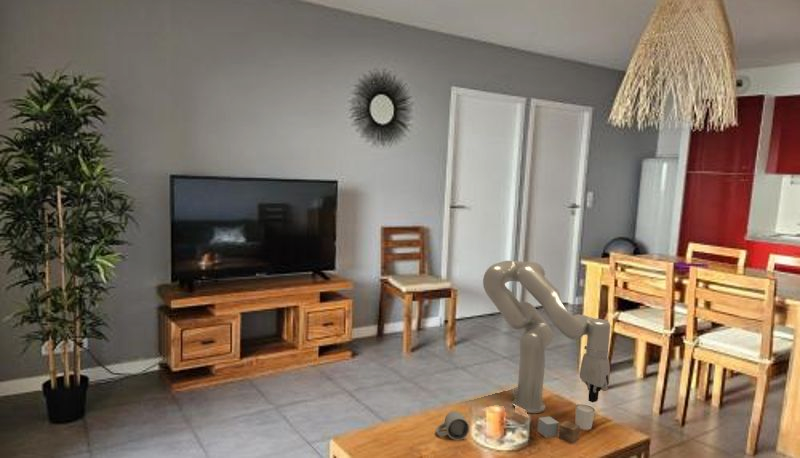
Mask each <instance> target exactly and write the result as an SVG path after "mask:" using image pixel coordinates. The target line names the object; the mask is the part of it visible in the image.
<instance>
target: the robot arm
mask: <svg viewBox="0 0 800 458" xmlns="http://www.w3.org/2000/svg"><path fill="white" fill-rule="evenodd" d="M545 275H546V271H545V269H544V267H543V266H542V265H541V264H540V263H538V262H536V261H535V262H534V261H516V260H503V261H500V262H497V263H494V264H492V265H491V266H489V267H488V268H487V269H486V271H485V273H484V275H483V279H482V286H483V290H484V291H485V294H486V295H487V296H488V298H489V299H490V300H491V302H492V303H493V304H494V307H496V309H497V310H498V311H499V313H500V314H501V316H502V317H503V319H504V320H505V321H506V323H507V324H508V325H509V327H510V328H512V329H514V330H522V329H523V330H524V332H523V333H522V335H521V336H520V339H519V369H518V381H517V388H516V387H515V388H513V390H512V391H511V392H510V393H511V395H512V396H514V399H513V400H512V403H513V404H515V405H517V406H519V407H521V408H523V409H525V410H526V411H527V412H528V414H541V413H543V412H544V411H545V410H546V405H545V403H543V402H542V401H543V390H544V378H545V363H546V362H545V361H546V360H545V359H546V355H545V350H546V348H548V347H549V346H550V345H551V344H552V342H553V340H554V334H553V330H552V328H551V327H550V326H549V324H548V323H547V322H546V320H545V319H544V317H543V316H542V314H541V313H540V312H539V311H538V309H536V307H535V306H534V305H533V304H531V303H529V302H526V301H519V300H518V298H516V296H515V294H514V293H513V292H512V291H511V290H510V289H509V288H508V287H507V286H506V283H508V282H517V283H518V282H519V284H520V285H521V286H522V287H523V288H524V289H525V290H526V291H528V293H529V294H530V295H531V296H532V297H533V298H534V299H535V300H536V301H537V303H539V304H540V306H541V307H542V308H543V311H544V313H546V315H547V318H548V319H549V320H550V321H551V323H552V324H553V326H554V327H556V329H558V331H559V332H561V334H562V335H563V336H565V337H566V338H568V339H570V340H580V339H581V338H582V337H583V336H585V335H586V336H587V339H586V345H585V346H584V347H583V348H584V349H583V350H585V353H584V354H583V356H582V359H581V364H580V371H579V378H580V380H581V382H583V383H584V384H585V385H586V387H587V390H588V399H587V400H588V401H589V402H590V403H595V402H598V401H599V400H598V399H599V392H601V391H608V390H609V387H608V386H609V384H610V377H611V374H610V373H611V367H610V358H608V357H609V345H610V334H611V324H610V322H609V321H608V320H606V319H602V318H593V317H590V316H587V315H584V314H579V313H578V314H574V315H572V314H571V313H570V311H568V309H567V308H566V307H565V306H564V304H563V302H562V299H561V295H560V291H559V289H558V288H557V287H556V286H555V285H554V284H553V283H552V282H551V281H550V280H549V279H548V278H546V276H545Z"/></svg>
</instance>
